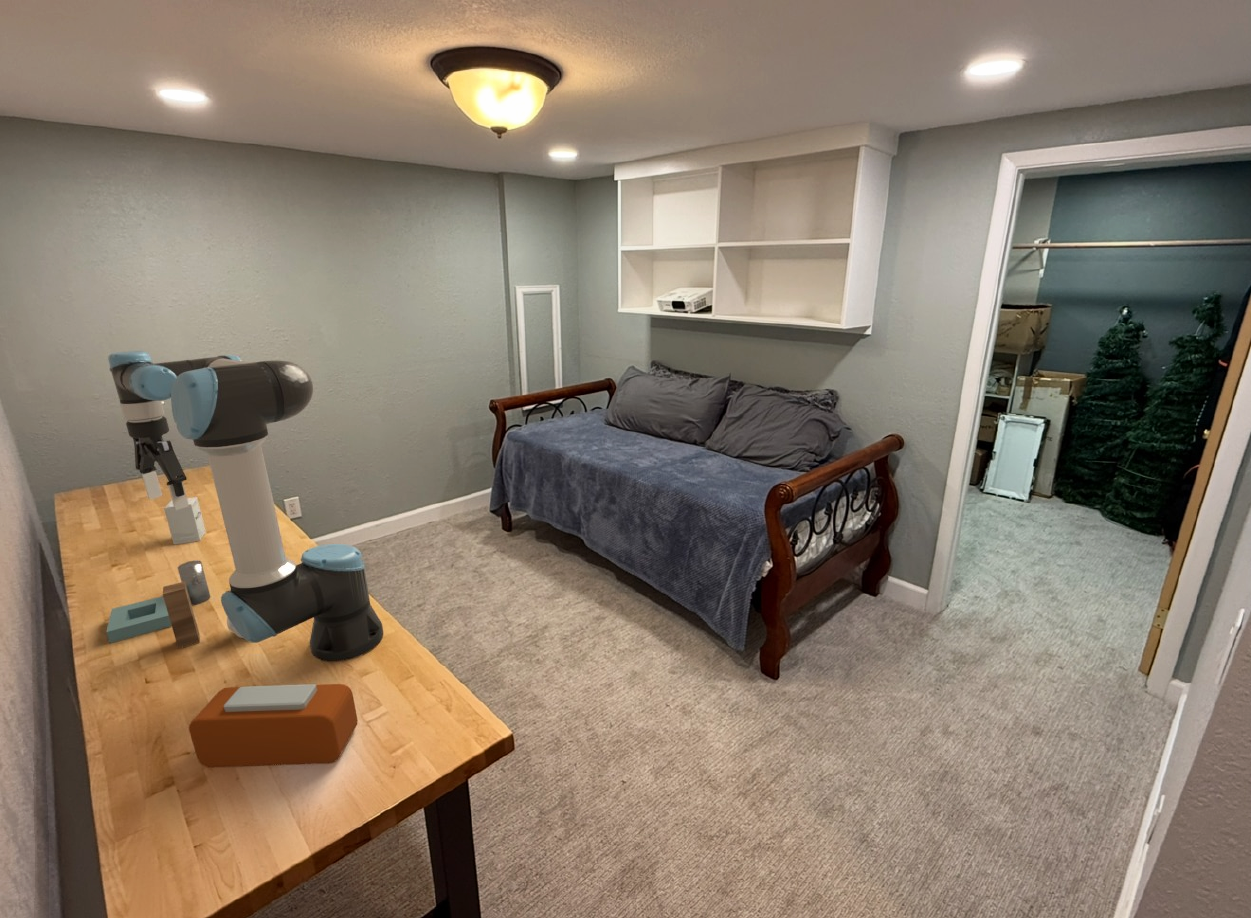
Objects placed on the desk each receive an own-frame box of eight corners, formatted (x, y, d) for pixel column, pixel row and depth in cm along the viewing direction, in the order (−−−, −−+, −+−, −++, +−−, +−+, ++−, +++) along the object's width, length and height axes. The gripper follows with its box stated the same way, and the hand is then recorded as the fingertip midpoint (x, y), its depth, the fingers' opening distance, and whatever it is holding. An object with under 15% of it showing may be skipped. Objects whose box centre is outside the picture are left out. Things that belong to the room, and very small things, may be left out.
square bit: (199, 642, 136) (184, 588, 131) (178, 648, 134) (162, 594, 129) (199, 634, 139) (185, 581, 135) (178, 640, 137) (163, 586, 132)
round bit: (210, 600, 153) (201, 566, 150) (187, 606, 150) (177, 571, 147) (210, 592, 157) (201, 558, 154) (187, 598, 154) (177, 564, 151)
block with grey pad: (360, 728, 110) (350, 676, 106) (340, 764, 102) (329, 709, 98) (228, 732, 109) (214, 681, 106) (199, 769, 101) (183, 714, 98)
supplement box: (200, 541, 187) (191, 504, 184) (172, 545, 185) (162, 507, 181) (206, 532, 194) (197, 496, 190) (180, 535, 191) (170, 499, 188)
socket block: (174, 625, 142) (171, 614, 142) (109, 643, 136) (106, 631, 135) (175, 603, 152) (172, 593, 151) (115, 619, 145) (111, 608, 144)
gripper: (189, 421, 135) (210, 507, 142) (140, 409, 147) (162, 488, 154) (151, 428, 129) (175, 518, 135) (103, 415, 141) (127, 498, 148)
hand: (168, 502), depth 145 cm, fingers open, 13 cm apart
